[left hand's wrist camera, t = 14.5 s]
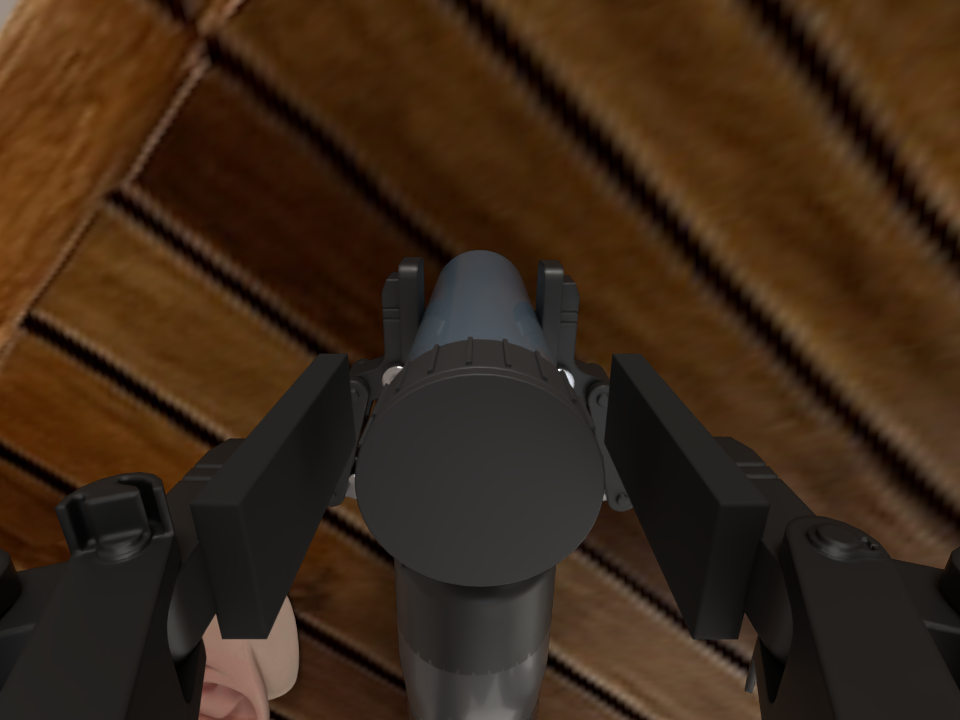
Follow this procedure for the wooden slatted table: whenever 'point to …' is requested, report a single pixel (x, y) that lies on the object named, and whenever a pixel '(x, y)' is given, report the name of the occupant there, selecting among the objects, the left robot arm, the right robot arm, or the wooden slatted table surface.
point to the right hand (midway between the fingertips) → (480, 263)
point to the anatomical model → (249, 670)
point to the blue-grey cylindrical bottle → (480, 306)
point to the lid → (479, 465)
